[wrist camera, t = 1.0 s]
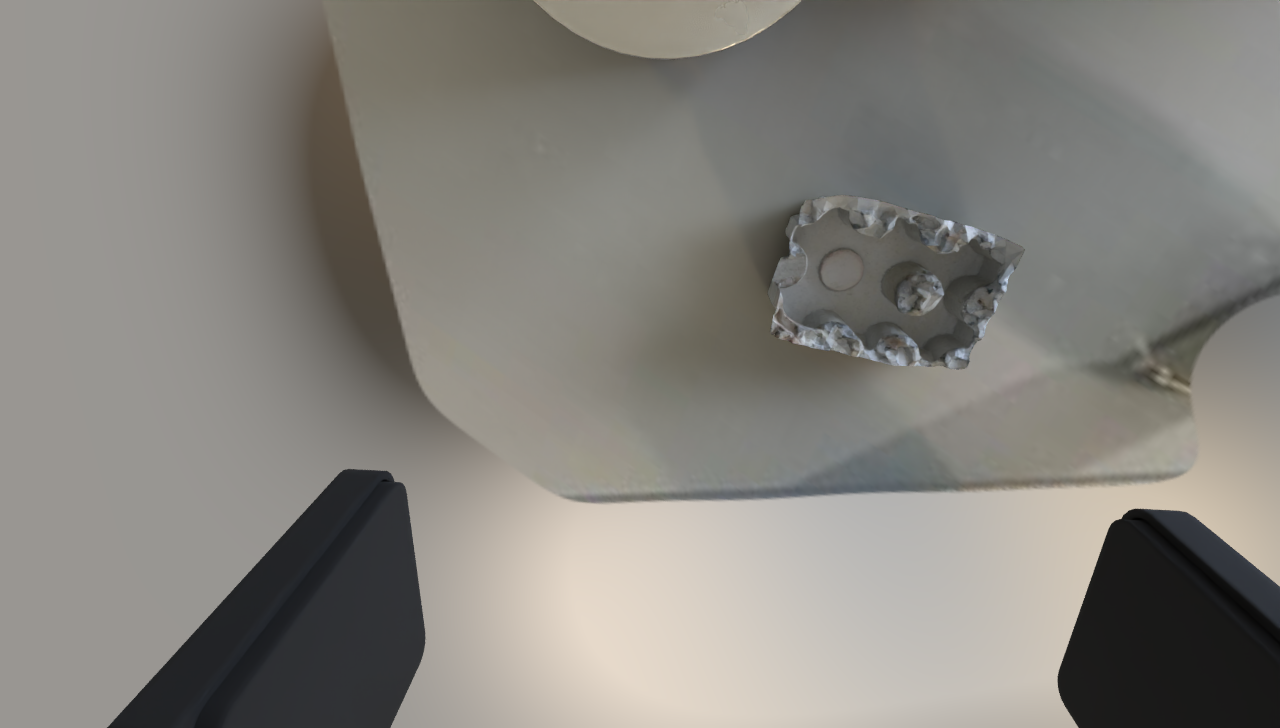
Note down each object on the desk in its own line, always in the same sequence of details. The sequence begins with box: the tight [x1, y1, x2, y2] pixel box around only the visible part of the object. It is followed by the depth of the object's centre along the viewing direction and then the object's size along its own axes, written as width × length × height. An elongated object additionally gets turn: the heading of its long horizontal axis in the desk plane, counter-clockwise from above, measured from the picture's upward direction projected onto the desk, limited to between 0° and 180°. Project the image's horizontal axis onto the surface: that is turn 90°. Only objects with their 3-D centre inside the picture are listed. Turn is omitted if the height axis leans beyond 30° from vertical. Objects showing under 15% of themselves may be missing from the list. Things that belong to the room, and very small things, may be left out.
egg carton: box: [768, 195, 1025, 370], centre depth 32 cm, size 11×8×4 cm
